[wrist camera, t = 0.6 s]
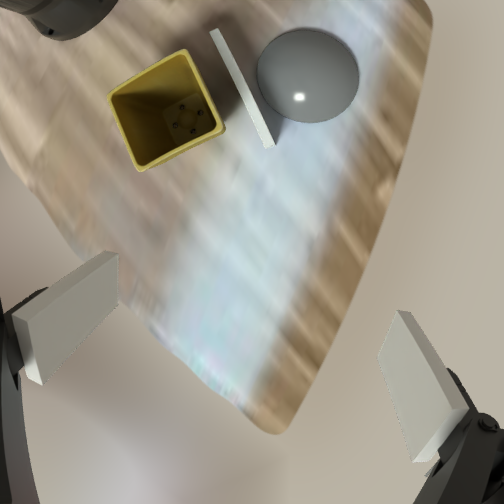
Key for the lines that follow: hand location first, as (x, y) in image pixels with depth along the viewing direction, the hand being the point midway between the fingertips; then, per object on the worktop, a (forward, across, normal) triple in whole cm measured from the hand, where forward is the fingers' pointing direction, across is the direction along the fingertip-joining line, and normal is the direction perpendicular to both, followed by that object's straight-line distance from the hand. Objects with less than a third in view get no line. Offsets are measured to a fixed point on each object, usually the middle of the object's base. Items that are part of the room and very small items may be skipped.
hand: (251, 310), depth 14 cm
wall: (+23, -5, +13) cm, 27 cm away
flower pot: (+23, -11, +9) cm, 27 cm away
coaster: (+23, +1, +16) cm, 28 cm away
